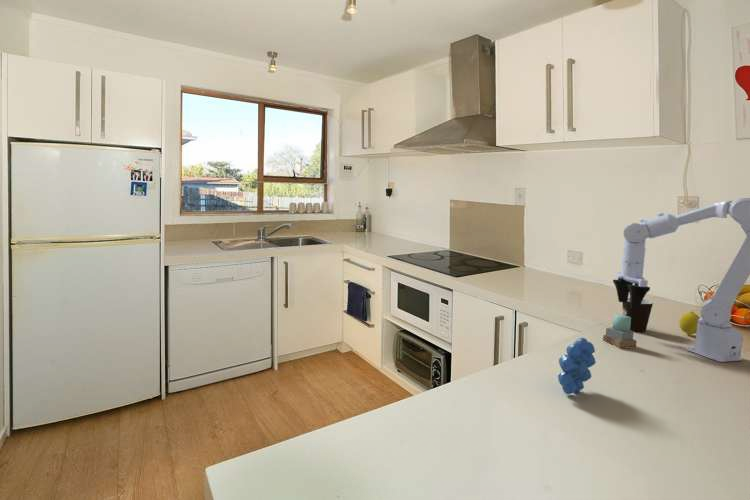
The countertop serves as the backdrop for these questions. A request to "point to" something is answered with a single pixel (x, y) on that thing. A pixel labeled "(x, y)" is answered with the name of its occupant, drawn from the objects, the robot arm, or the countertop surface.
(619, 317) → the teal cylinder
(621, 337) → the grey square slab
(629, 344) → the walnut block
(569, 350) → the grapes
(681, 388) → the countertop surface
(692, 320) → the lemon
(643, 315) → the coffee mug
